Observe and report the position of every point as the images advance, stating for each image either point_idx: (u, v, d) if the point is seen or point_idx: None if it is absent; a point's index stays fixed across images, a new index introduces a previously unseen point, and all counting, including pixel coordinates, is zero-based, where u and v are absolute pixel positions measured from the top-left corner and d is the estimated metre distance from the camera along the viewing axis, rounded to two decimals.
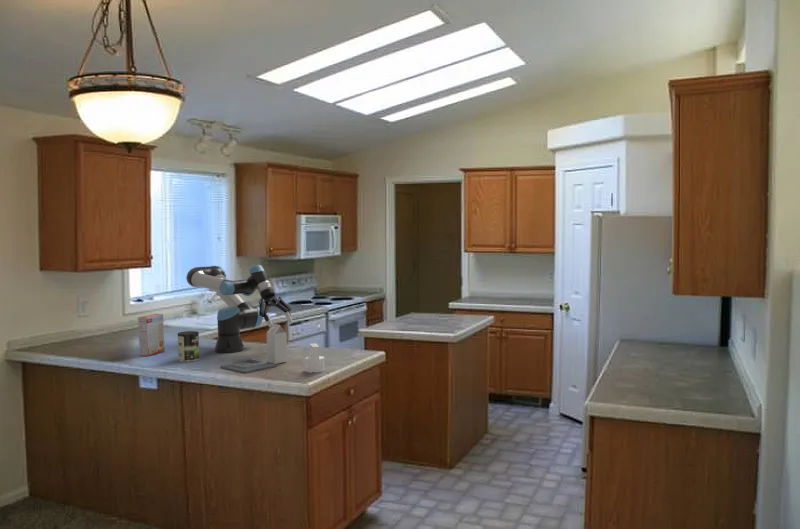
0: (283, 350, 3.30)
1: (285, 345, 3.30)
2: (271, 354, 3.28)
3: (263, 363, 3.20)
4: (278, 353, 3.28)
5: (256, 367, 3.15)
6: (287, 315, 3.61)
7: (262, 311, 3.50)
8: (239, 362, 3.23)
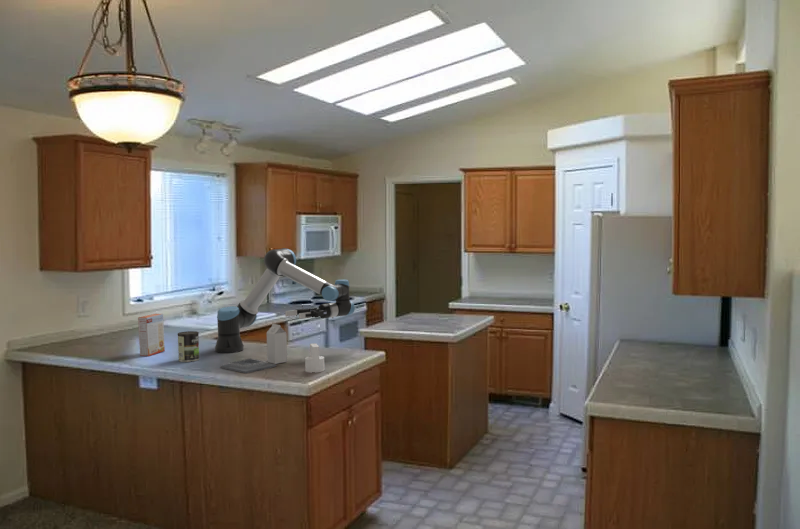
0: (283, 350, 3.30)
1: (285, 345, 3.30)
2: (271, 354, 3.28)
3: (263, 363, 3.20)
4: (278, 353, 3.28)
5: (256, 367, 3.15)
6: (294, 313, 3.44)
7: None
8: (239, 362, 3.23)
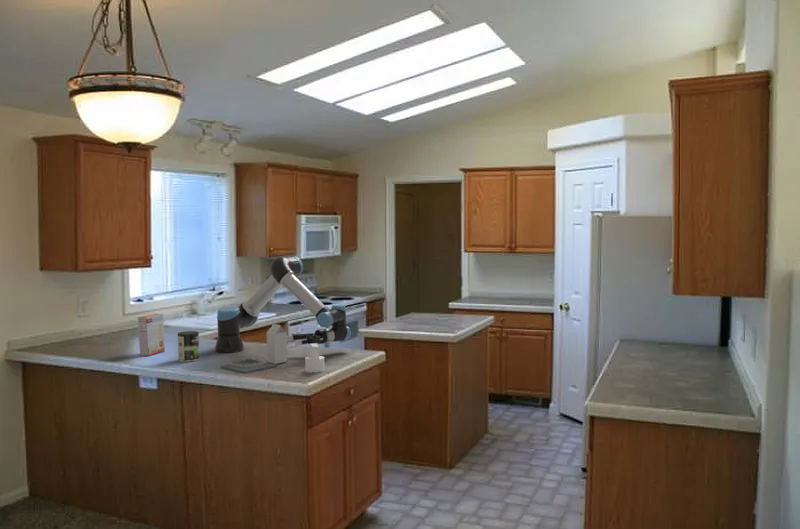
0: (283, 350, 3.30)
1: (285, 345, 3.30)
2: (271, 354, 3.28)
3: (263, 363, 3.20)
4: (278, 353, 3.28)
5: (256, 367, 3.15)
6: (290, 338, 3.43)
7: None
8: (239, 362, 3.23)
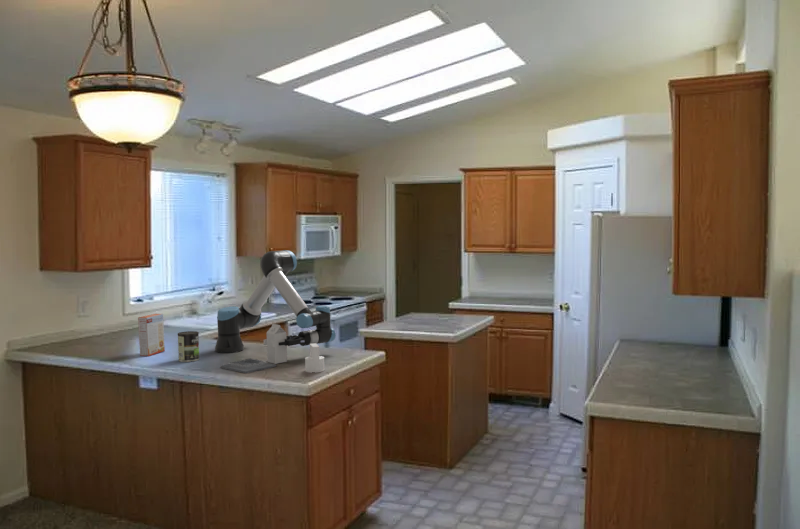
0: (283, 350, 3.30)
1: None
2: (271, 354, 3.28)
3: (263, 363, 3.20)
4: (278, 353, 3.28)
5: (256, 367, 3.15)
6: None
7: None
8: (239, 362, 3.23)
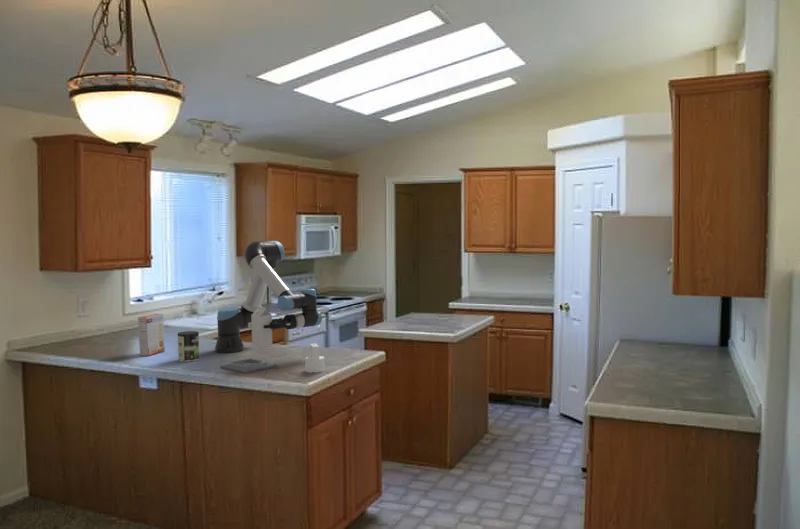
0: (268, 333, 3.23)
1: None
2: (256, 337, 3.21)
3: (263, 363, 3.20)
4: (263, 336, 3.21)
5: (256, 367, 3.15)
6: None
7: (275, 328, 3.21)
8: (239, 362, 3.23)
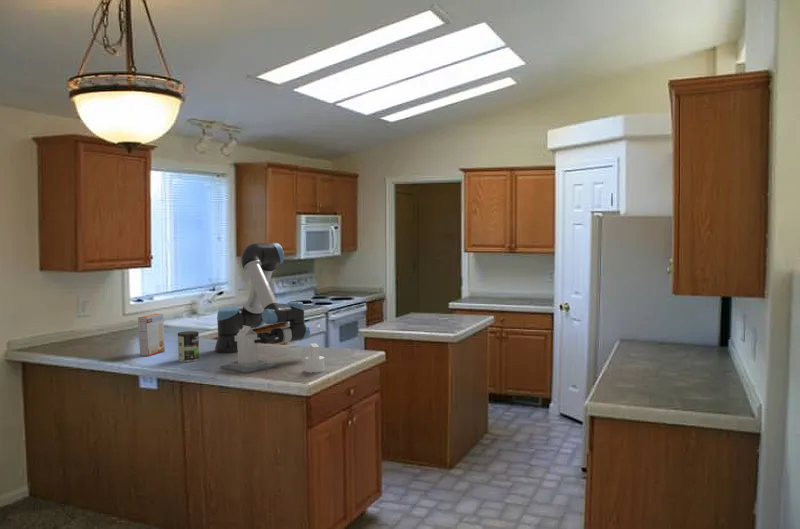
0: (254, 353, 3.19)
1: (256, 347, 3.20)
2: (242, 357, 3.18)
3: (263, 363, 3.20)
4: (248, 355, 3.17)
5: (256, 367, 3.15)
6: None
7: None
8: None
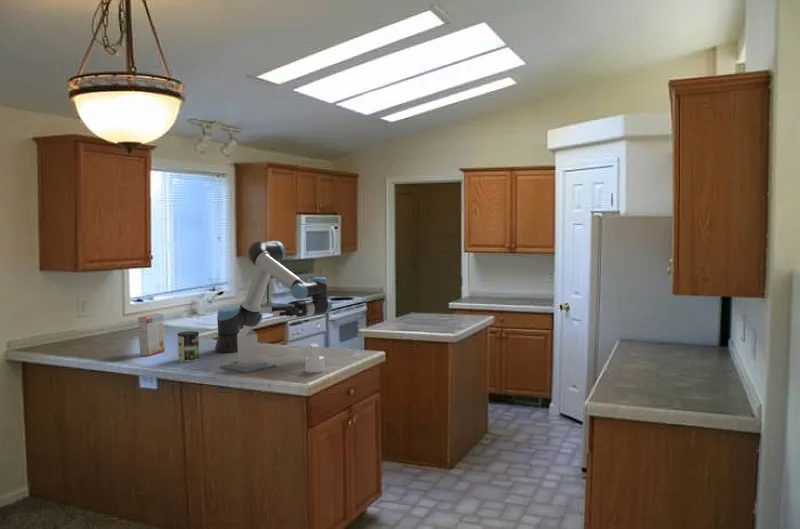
0: (254, 353, 3.19)
1: (256, 347, 3.20)
2: (242, 357, 3.18)
3: (263, 363, 3.20)
4: (249, 355, 3.17)
5: (256, 367, 3.15)
6: (268, 310, 3.33)
7: None
8: None
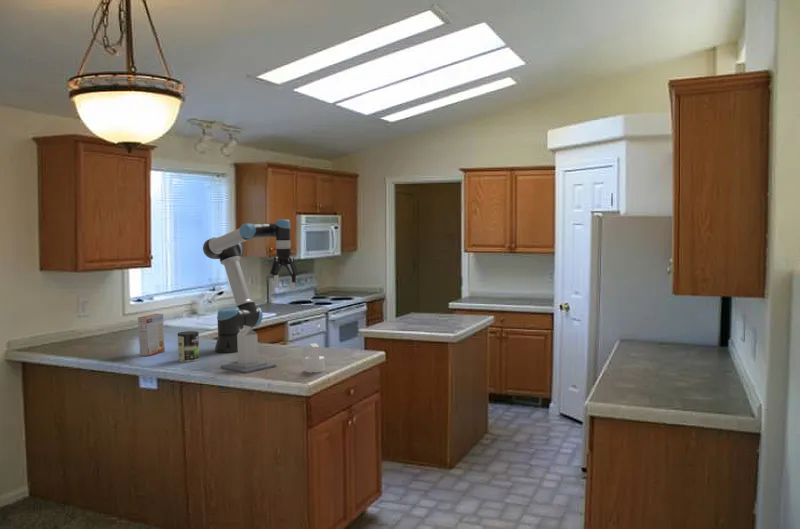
0: (254, 353, 3.19)
1: (256, 347, 3.20)
2: (242, 357, 3.18)
3: (263, 363, 3.20)
4: (249, 355, 3.17)
5: (256, 367, 3.15)
6: (276, 278, 3.58)
7: None
8: None
